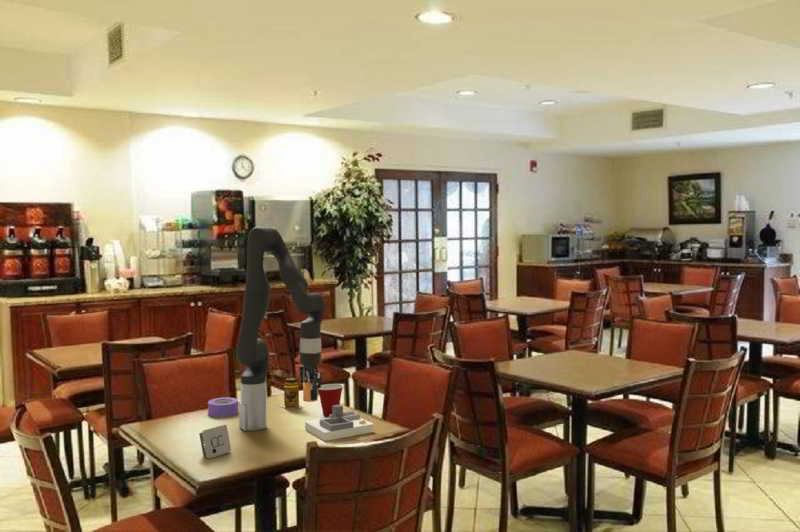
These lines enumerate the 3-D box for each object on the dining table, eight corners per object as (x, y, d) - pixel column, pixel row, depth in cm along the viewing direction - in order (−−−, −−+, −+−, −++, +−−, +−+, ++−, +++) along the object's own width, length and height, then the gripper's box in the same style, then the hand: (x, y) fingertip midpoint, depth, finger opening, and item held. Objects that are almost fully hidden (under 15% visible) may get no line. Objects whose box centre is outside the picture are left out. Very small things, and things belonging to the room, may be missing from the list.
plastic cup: (329, 409, 280) (329, 381, 280) (349, 414, 274) (349, 384, 273) (310, 415, 272) (310, 385, 271) (331, 420, 265) (330, 389, 265)
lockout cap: (307, 402, 235) (307, 385, 235) (300, 399, 240) (300, 382, 239) (320, 400, 238) (320, 383, 238) (313, 397, 242) (313, 380, 242)
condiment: (287, 410, 280) (287, 381, 279) (278, 405, 287) (278, 377, 286) (303, 407, 284) (303, 379, 283) (294, 403, 291) (294, 375, 290)
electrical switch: (208, 460, 220) (206, 431, 220) (198, 458, 223) (196, 429, 223) (231, 452, 227) (229, 424, 227) (222, 451, 230) (220, 423, 230)
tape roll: (228, 418, 268) (228, 405, 268) (202, 415, 272) (202, 403, 271) (243, 410, 280) (243, 398, 279) (218, 408, 283) (218, 396, 283)
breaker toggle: (335, 420, 253) (335, 407, 253) (332, 418, 256) (332, 405, 256) (343, 419, 255) (343, 406, 255) (339, 417, 257) (339, 404, 257)
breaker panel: (324, 441, 239) (324, 427, 239) (305, 429, 253) (305, 416, 252) (373, 431, 250) (373, 418, 250) (352, 421, 264) (352, 408, 263)
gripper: (292, 348, 242) (292, 395, 243) (309, 354, 230) (309, 404, 231) (311, 346, 246) (311, 392, 247) (329, 352, 234) (329, 401, 235)
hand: (310, 398), depth 239 cm, fingers closed on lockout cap, 5 cm apart
